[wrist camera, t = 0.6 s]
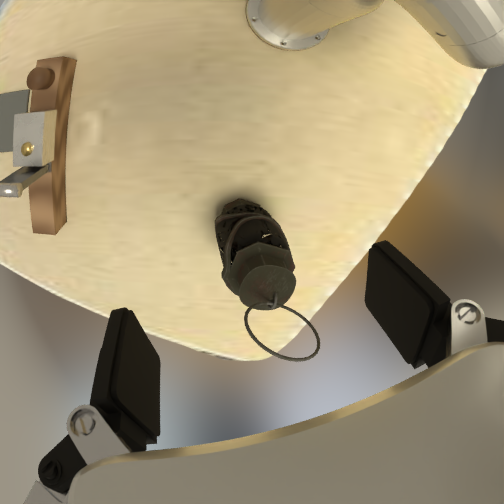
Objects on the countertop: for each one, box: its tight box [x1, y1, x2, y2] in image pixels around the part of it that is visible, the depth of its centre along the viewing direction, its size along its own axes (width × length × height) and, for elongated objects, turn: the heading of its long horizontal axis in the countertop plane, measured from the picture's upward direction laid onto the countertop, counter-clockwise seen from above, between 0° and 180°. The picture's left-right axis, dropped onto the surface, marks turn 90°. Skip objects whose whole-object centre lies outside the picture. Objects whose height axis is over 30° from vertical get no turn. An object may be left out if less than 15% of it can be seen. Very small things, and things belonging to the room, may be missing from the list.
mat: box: [0, 90, 30, 152], centre depth 28 cm, size 10×7×1 cm
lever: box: [0, 165, 49, 197], centre depth 25 cm, size 2×5×10 cm, turn 78°
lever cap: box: [13, 110, 57, 167], centre depth 26 cm, size 7×5×4 cm
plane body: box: [27, 57, 77, 235], centre depth 29 cm, size 26×4×8 cm, turn 168°
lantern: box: [215, 199, 320, 361], centre depth 34 cm, size 10×9×28 cm
